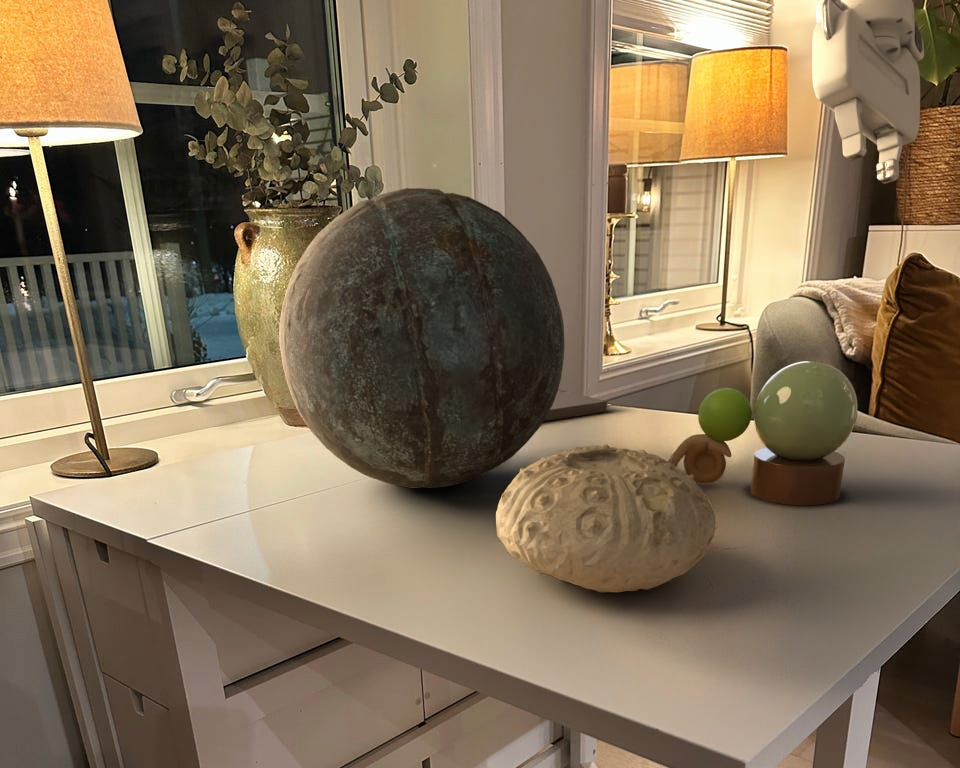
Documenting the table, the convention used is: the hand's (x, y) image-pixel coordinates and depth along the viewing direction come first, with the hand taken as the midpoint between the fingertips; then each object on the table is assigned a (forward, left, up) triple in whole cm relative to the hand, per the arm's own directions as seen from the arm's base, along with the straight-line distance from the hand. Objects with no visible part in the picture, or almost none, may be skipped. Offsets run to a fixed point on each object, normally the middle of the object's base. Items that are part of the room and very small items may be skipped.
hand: (872, 169), depth 93 cm
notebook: (+7, -47, -31) cm, 57 cm away
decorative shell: (+44, +8, -31) cm, 54 cm away
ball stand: (+12, +4, -31) cm, 33 cm away
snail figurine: (+16, -2, -20) cm, 26 cm away
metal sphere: (+39, -25, -31) cm, 56 cm away
